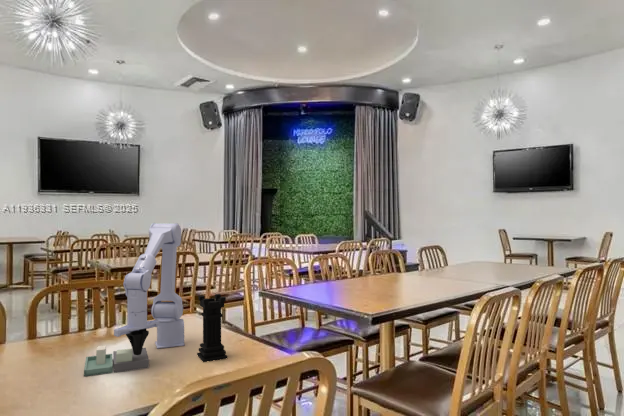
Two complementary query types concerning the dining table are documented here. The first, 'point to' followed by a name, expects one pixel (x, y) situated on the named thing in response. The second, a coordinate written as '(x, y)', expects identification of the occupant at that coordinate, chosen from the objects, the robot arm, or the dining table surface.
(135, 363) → the charcoal board
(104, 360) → the cream tile
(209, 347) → the chess piece
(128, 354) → the sage tile
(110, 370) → the tray
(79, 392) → the dining table surface
